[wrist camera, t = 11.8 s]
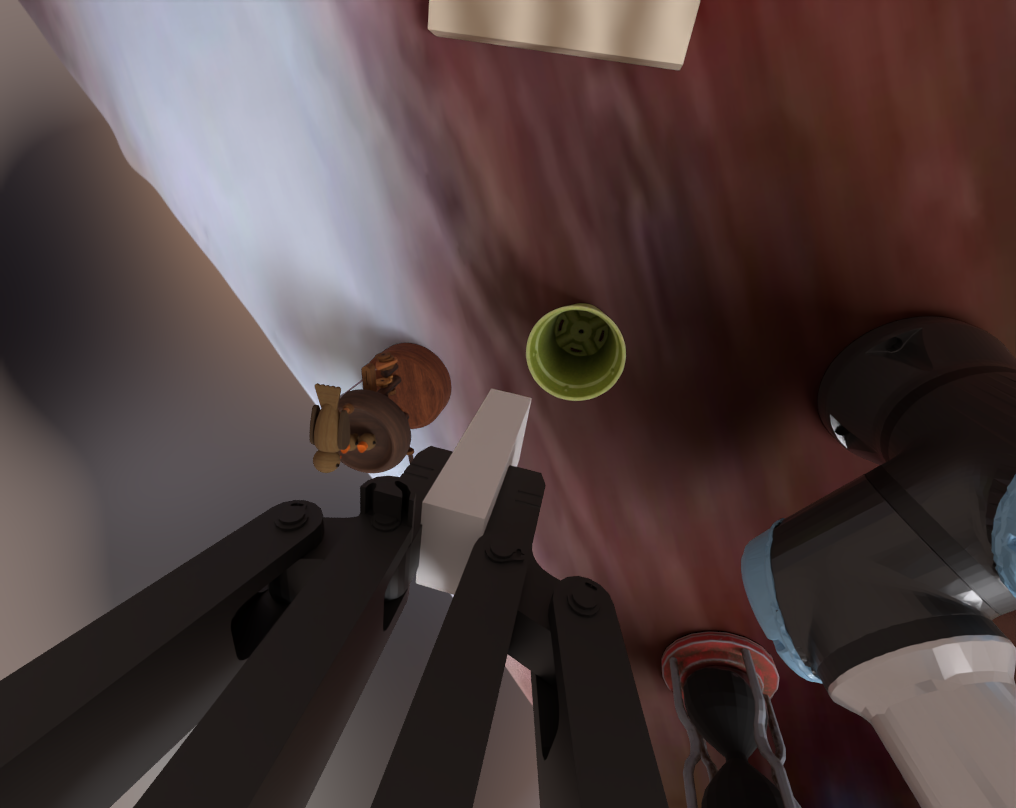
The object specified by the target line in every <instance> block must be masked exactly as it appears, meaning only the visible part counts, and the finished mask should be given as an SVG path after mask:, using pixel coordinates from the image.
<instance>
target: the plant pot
mask: <svg viewBox="0 0 1016 808" xmlns="http://www.w3.org/2000/svg"><path fill="white" fill-rule="evenodd" d="M581 310H583V311H581ZM586 311H587V312H586ZM589 312H591V313H589ZM561 320H564V322H563V325H562V330H561V331H559V328H558V327H559V324H560V321H561ZM580 329H581V330H583V331H584V332H583V333H582V334H581V333H579V330H580ZM602 330H603V331H604V337H603V340H602V341H601V342H599V338H600V336H601V333H602ZM571 347H572V348H574V349H577V350H582V352H574V351H572V350H571V349H570V348H571ZM526 358H527V364H528V367H529V370H530V372H531V374H532V376H533V378H534V380H535V381H536V382H537V383H538V384H539V386H540V387H541V388H543V389H544V390H545V391H546V392H548V393H550V394H551V395H553V396H555V397H558V398H561V399H565V400H570V401H582V400H588V399H592V398H594V397H597V396H599V395H601V394H603V393H605V392H606V391H608V390H609V389H610V388H611V387H612V386H613V385H614V384H615V383H616V382H617V380H618V379H619V377H620V375H621V373H622V371H623V369H624V365H625V360H626V348H625V343H624V339H623V337H622V334H621V332H620V330H619V329H618V327H617V326H616V324H615V323H614V322H613V321H612V320H611V319H610V318H609V317H608V316H606V315H605V314H603V312H602V311H601V310H599V309H598V308H597V307H595V306H593V305H590V304H585V303H578V304H573V305H571V306H565V307H560V308H557V309H555V310H553V311H551V312H549V313H547V314H546V315H545V316H543V317H542V318H541V319H540V320H539V321H538V322H537V323H536V324H535V326H534V327H533V329H532V331H531V333H530V335H529V338H528V341H527V346H526Z"/></svg>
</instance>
